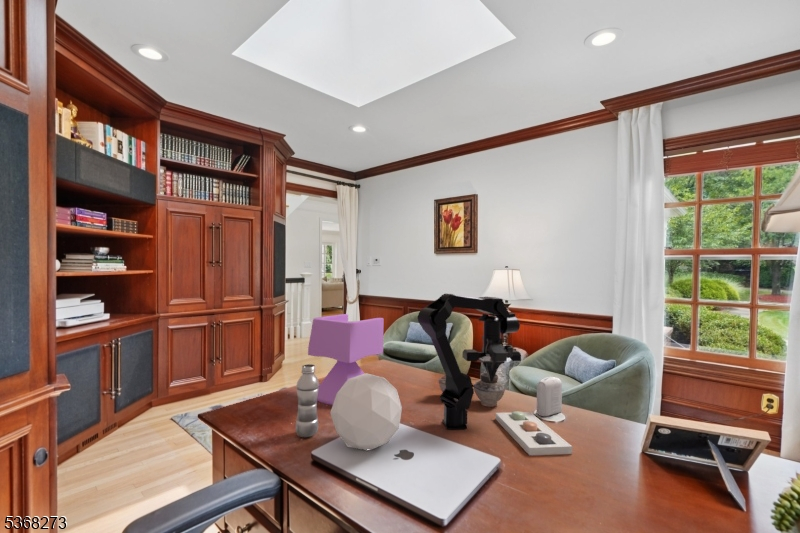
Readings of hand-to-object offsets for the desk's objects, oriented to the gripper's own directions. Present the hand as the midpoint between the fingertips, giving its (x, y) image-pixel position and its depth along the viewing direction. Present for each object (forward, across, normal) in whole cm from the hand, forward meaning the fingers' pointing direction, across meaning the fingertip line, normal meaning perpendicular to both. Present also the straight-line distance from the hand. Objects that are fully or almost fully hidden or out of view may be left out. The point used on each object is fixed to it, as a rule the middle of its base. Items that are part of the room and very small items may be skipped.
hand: (491, 380), depth 122 cm
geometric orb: (+12, -42, -17) cm, 47 cm away
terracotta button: (+12, +7, -14) cm, 20 cm away
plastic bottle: (+12, -59, -10) cm, 61 cm away
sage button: (+12, +7, -6) cm, 15 cm away
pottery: (+12, -2, +15) cm, 20 cm away
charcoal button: (+12, +7, -22) cm, 26 cm away
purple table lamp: (+12, -49, +21) cm, 55 cm away
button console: (+12, +7, -14) cm, 20 cm away
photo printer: (+12, +22, +2) cm, 25 cm away
